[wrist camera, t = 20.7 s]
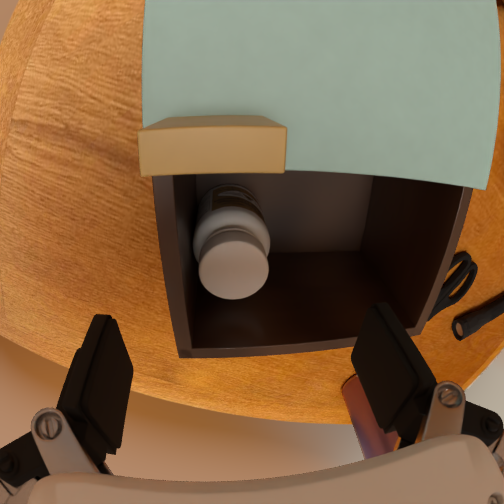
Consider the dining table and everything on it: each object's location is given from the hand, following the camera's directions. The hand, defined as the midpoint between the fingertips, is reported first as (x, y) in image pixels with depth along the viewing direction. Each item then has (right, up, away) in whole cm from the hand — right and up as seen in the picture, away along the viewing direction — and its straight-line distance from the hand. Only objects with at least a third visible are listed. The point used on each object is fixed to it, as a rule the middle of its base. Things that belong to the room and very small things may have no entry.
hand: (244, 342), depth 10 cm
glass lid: (+4, +11, -3) cm, 12 cm away
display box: (+3, +8, +11) cm, 14 cm away
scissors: (+19, -5, +20) cm, 28 cm away
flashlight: (+35, -4, +22) cm, 42 cm away
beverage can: (+15, -14, +25) cm, 33 cm away
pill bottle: (-1, +6, +11) cm, 13 cm away
